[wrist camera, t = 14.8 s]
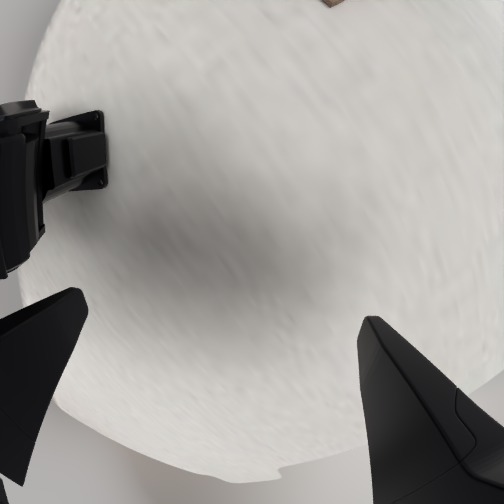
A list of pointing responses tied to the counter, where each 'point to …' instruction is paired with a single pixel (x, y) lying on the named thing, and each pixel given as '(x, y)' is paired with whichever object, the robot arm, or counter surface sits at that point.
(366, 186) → the counter surface
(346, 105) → the counter surface
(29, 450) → the robot arm
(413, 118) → the counter surface
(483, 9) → the counter surface
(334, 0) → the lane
